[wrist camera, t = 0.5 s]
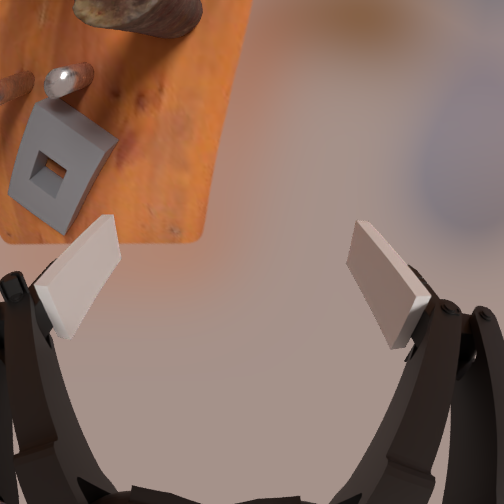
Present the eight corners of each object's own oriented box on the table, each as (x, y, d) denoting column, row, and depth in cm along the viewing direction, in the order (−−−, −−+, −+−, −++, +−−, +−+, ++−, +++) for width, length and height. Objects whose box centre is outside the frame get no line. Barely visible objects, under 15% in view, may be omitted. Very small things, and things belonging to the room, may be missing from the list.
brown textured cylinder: (214, -4, 22) (189, -61, 7) (194, 44, 26) (145, 34, 11) (157, -12, 20) (83, -56, 5) (139, 35, 24) (48, 32, 9)
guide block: (54, 94, 27) (35, 103, 23) (119, 139, 34) (105, 152, 30) (22, 180, 35) (7, 194, 31) (75, 218, 42) (64, 235, 38)
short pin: (80, 58, 24) (53, 63, 19) (99, 69, 26) (73, 76, 21) (67, 80, 26) (39, 90, 21) (84, 92, 28) (59, 103, 23)
